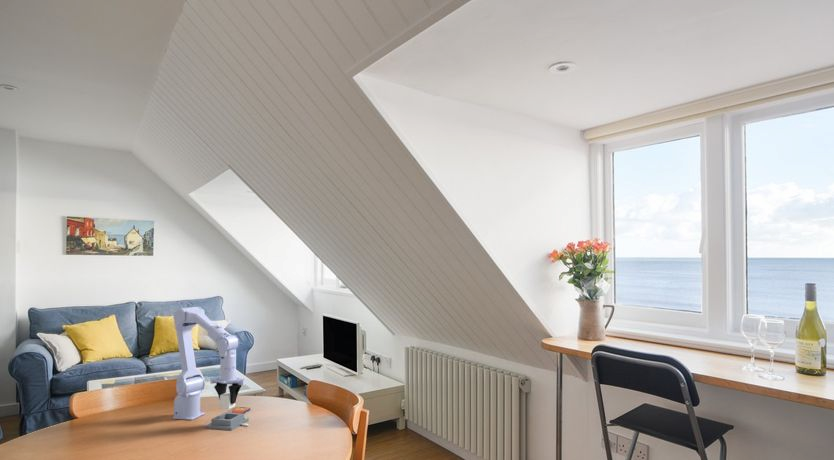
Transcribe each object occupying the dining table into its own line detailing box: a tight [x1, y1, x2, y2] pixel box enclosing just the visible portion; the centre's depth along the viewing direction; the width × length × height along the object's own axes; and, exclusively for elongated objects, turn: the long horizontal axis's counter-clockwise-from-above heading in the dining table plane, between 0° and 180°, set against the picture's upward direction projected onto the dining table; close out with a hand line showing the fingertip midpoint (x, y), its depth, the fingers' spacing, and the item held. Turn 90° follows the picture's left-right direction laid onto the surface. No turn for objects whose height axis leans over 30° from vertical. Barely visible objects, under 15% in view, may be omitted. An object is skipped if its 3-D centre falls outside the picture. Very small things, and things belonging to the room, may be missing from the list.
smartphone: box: [226, 406, 251, 415], centre depth 202 cm, size 7×15×1 cm, turn 169°
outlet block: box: [205, 411, 250, 431], centre depth 190 cm, size 14×11×3 cm
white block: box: [219, 391, 236, 410], centre depth 191 cm, size 4×4×5 cm
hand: (228, 403), depth 191 cm, fingers closed on white block, 4 cm apart
